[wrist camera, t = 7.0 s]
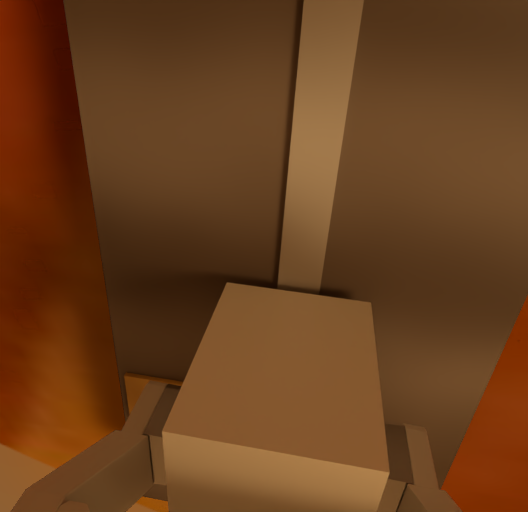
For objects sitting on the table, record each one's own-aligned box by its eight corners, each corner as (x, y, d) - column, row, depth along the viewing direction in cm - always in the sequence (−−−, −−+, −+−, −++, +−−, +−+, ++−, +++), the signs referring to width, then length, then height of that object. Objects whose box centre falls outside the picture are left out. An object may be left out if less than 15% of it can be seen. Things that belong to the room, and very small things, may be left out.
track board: (86, -406, 9) (-34, -607, 6) (743, -433, 7) (984, -706, 5) (161, 437, 21) (134, 498, 19) (403, 482, 20) (413, 554, 17)
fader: (226, 282, 12) (162, 431, 8) (371, 302, 11) (389, 472, 7) (224, 405, 14) (174, 571, 10) (342, 426, 14) (343, 608, 10)
